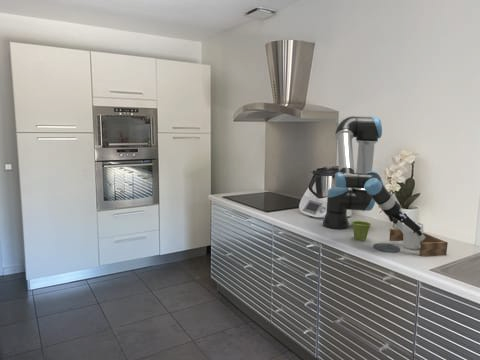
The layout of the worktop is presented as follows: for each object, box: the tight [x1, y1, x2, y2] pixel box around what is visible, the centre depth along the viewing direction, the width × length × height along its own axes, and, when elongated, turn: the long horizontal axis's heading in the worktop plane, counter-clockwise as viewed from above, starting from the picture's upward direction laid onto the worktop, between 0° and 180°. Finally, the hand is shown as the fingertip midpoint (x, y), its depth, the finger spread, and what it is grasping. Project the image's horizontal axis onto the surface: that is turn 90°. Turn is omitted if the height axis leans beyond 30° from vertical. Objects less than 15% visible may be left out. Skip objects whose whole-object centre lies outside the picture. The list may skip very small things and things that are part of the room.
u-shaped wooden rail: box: [388, 228, 448, 257], centre depth 174 cm, size 14×24×6 cm, turn 11°
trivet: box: [373, 242, 401, 253], centre depth 171 cm, size 12×12×1 cm
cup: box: [403, 221, 424, 250], centre depth 173 cm, size 9×9×12 cm
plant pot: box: [351, 220, 372, 241], centre depth 185 cm, size 9×9×9 cm
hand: (413, 235), depth 173 cm, fingers open, 13 cm apart
